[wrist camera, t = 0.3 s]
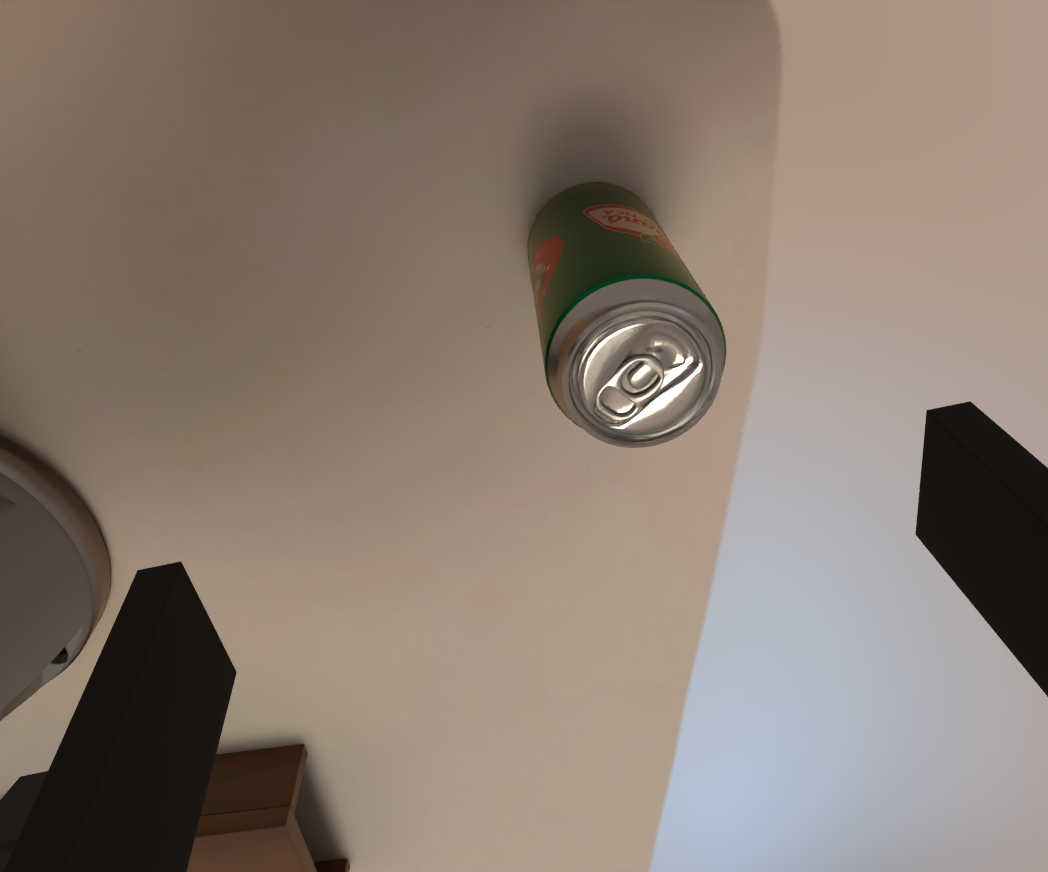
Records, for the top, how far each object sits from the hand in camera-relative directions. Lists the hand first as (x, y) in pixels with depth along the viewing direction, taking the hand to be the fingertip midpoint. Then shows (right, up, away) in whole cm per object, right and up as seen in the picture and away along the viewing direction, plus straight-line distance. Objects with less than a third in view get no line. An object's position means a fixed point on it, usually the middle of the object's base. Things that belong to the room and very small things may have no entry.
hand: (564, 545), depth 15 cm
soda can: (+2, +10, +18) cm, 21 cm away
